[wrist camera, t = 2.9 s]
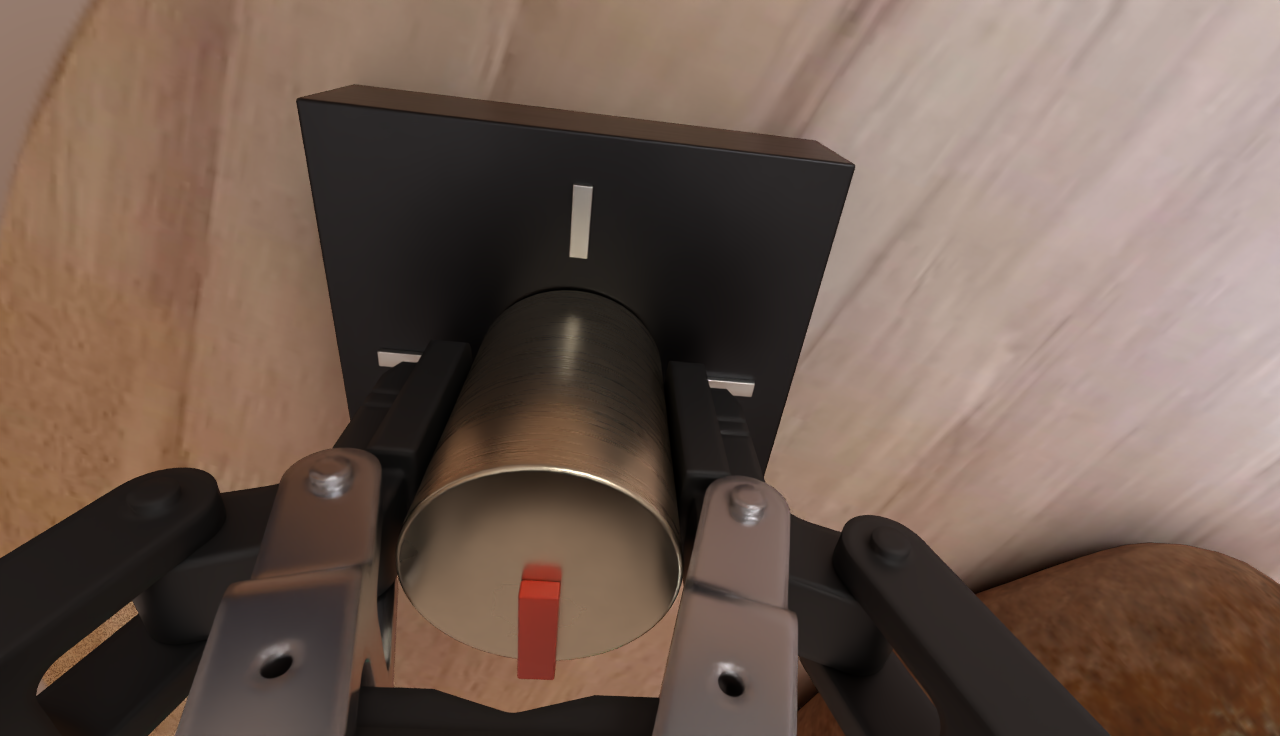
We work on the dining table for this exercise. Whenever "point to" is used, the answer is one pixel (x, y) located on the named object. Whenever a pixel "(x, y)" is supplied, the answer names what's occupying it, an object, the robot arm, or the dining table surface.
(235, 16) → the dining table surface
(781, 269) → the panel
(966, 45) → the dining table surface
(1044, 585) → the bread
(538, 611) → the knob
